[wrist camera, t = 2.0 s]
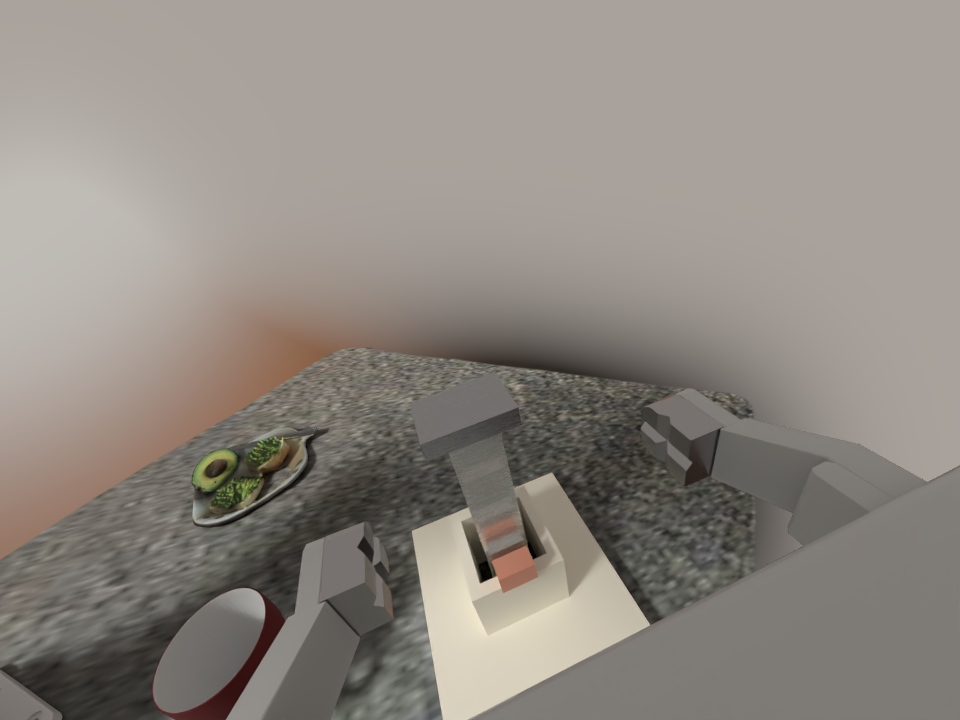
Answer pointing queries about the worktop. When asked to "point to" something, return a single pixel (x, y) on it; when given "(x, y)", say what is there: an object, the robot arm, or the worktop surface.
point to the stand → (517, 602)
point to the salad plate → (245, 475)
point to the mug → (215, 655)
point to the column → (477, 455)
